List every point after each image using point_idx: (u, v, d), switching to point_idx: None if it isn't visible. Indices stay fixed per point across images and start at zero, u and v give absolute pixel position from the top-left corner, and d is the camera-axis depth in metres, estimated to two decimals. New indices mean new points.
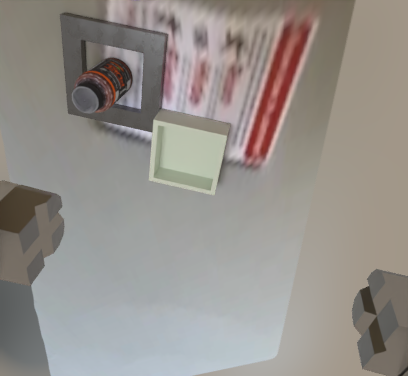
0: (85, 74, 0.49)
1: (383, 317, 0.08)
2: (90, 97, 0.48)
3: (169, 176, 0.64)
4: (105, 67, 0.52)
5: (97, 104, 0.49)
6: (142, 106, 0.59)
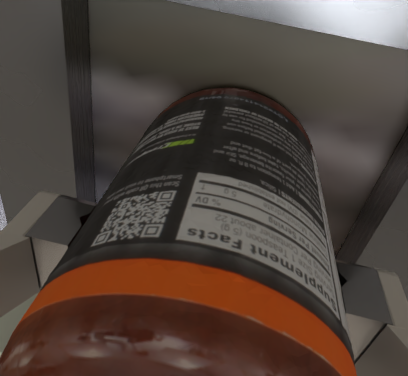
0: None
1: None
2: None
3: None
4: None
5: None
6: None
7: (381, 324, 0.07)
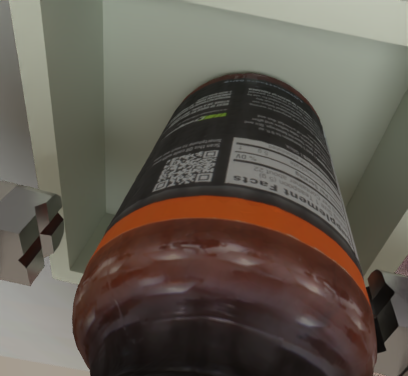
0: None
1: (383, 317, 0.08)
2: None
3: (73, 63, 0.11)
4: None
5: None
6: None
7: None
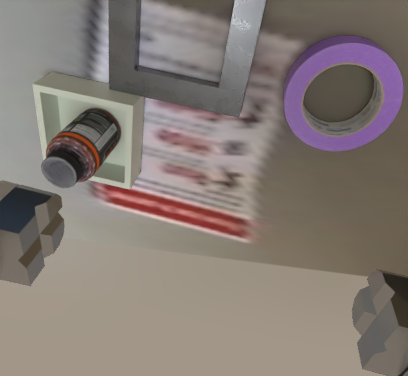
0: (92, 158, 0.39)
1: (382, 317, 0.08)
2: (64, 181, 0.38)
3: (48, 107, 0.44)
4: (106, 155, 0.43)
5: (58, 186, 0.39)
6: (145, 74, 0.41)
7: None
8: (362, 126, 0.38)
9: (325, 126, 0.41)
